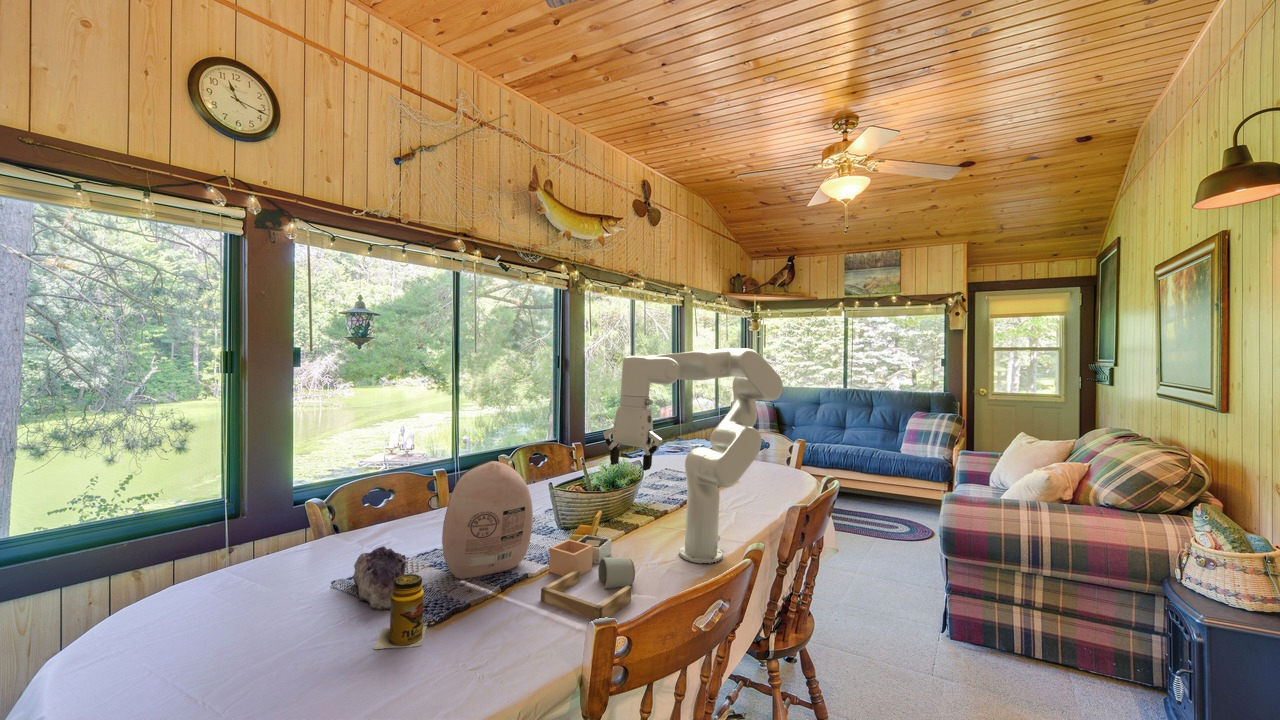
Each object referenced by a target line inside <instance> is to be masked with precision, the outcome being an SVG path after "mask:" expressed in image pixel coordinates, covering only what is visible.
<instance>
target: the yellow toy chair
mask: <svg viewBox="0 0 1280 720" xmlns="http://www.w3.org/2000/svg"><path fill="white" fill-rule="evenodd" d="M602 513H603V510H598V512H597V513H596V515H595V516H594V518H593V521H592V524H591V525H587V524H586V525H583V524H580V525H578V526H577V529H576V531H575V534H571V535H570V537H569V539H570V540H574V541H578V540H580V539H581V538H582V537H584V536H585V535H590V536H595V537H596V535H597V533H598V531H599V529H600V527H599V523H600V521H601V516H602Z"/></svg>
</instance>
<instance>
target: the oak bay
mask: <svg viewBox="0 0 1280 720" xmlns="http://www.w3.org/2000/svg"><path fill="white" fill-rule="evenodd" d="M580 577H581V576H580V571H579V570H575V571H573V572H571V573H569V574H567V575H565V576H561V577H560V578H558V579H556V580H554V581H553V582H551V583H549V584H547V585H545V586H543V587H542V588H541V589H540V601H542V602H544V603H546V604H549V605H552V606H554V607H558V608H561V609H563V610H567V611H569V612H572V613H575V614H577V615H580V616H583V617H586V618H588V619H592V620H595V619H599V618H605V617H609V618H610V617H612V616H613V615H614V614H615V613H617V612H618V611H620V610H622V608H624V607H626V605H628V604H629V603H631V602H632V587H633V586H632V585H630V586H628V585H627V586H625V587H622V588H621V589H620V590H618V591H616V592H615V593H613V595H611V596H609V597H608V598H606V599H605V600H603V601H602V602H601V603H599V604H596V603H593V602H590V601H587V600H584V599H581V598H578V597H576V596H573V595H570V594H567V593H564V591H567V590H568V589H570V588H571V587H573V586H574V585H576V584H578V583H580V580H581V579H580Z"/></svg>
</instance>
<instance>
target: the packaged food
mask: <svg viewBox="0 0 1280 720" xmlns="http://www.w3.org/2000/svg"><path fill="white" fill-rule="evenodd" d="M533 511H534V509H533V501H532V496H531V492H530V490H529V487H528V484H527V482H526V481H525V480H524V478H523V476H522V475H520V473H519V472H518V471H516V470H515V469H514V468H513V467H512V466H510V465H508V464H506V463H505V462H501V461H498V460H488V461H487V460H486V461H483V462H481V463H478V464H477V465H474V466H472V467H470V468H469V469H467V470H466V471H464V472H463V474H461V475H460V477H459V478H458V479H457V481H456V483H455V485H454V488H453V490H452V492H451V494H450V497H449V500H448V504H447V508H446V512H445V515H444V520H443V526H442V534H441V545H442V553H443V554H442V555H443V559H444V562H445V564H446V566H447V568H448V570H449V571H450V573H451V574H452V575H453V576H454V577H456V578H458V579H460V580H462V579H463V580H464V579H465V580H466V579H471V578H476V577H484V576H489V575H493V574H498V573H502V572H505V571H506V572H507V571H509V570H512V569H514V568H516V567H517V566H518V565H519V564H520V563H522V561H523V560H524V559H525V556H527V552H528V551H529V547H530V543H531V537H532V532H533V531H532V530H533V515H534V514H533V513H534V512H533Z"/></svg>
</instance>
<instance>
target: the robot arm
mask: <svg viewBox="0 0 1280 720" xmlns="http://www.w3.org/2000/svg"><path fill="white" fill-rule="evenodd" d="M731 377H734V378H733V381H732V393H733V401H732V402H733V403H732V406H731V408H730V410H729V411H728V412H727V414H726V415H725V416H724V417H723V418H722V420H721V421H720V422H719V424H717V426H716V427H715V428H714V429H713V430H712V432H711V435H710V437H709V442H710V443H709V444H710V445H711V447H712V448H709V447H704V446H703V447H701V446H699V447H695V448H692V449H691V450H690V451H689V452H688V453H687V455H686V458H685V460H684V472H685V478H686V490H687V491H686V511H685V535H684V545H683V546H681V547H680V548H679V552H678V553H679V557H681V558H682V559H684V560H685V561H688V562H690V563H695V564H702V563H709V564H714V563H713V562H715V563H718V562H720V561H721V560H723V554H724V553H723V552H722V551H721V549H719V548H718V545H719V544H718V543H719V541H720V540H721V537H720V535H719V525H720V524H719V522H720V521H719V520H720V502H721V501H720V499H721V496H720V489H719V488H724V489H727V488H731V487H733V486H734V485H736V484H737V483H738V481H740V479H741V478H742V477H743V475H744V474H745V473H746V472H747V470H748V469H749V468H750V466H751V465H752V464H753V463H754V461H755V459H757V457H758V455H759V454H760V451H761V447H762V437H761V434H760V432H759V430H757V429H756V428H755V427H754V426H755V425H756V422H757V420H758V409H757V403H756V400H758V401H759V400H760V401H765V402H772V401H776V400H777V399H779V398H780V396H781V395H782V394H783V390H784V389H783V388H784V384H783V380H782V378H781V377H780V375H779V374H778V373H777V370H775V369H774V368H773V367H772V366H771V365H770V364H769V363H768V362H767V360H766V359H765V358H764V357H763V356H762V355H761V354H760V353H758V352H757V351H755V350H754V349H751V348H741V347H740V348H738V347H735V348H734V347H730V348H729V347H727V348H725V347H724V348H716V349H707V350H694V351H687V352H680V353H679V352H677V353H676V352H675V353H667V354H666V353H664V354H663V353H662V354H653V355H646V356H645V355H643V356H642V355H641V356H640V355H626V356H625V357H623V360H622V369H621V383H620V385H621V386H620V401H619V405H618V406H617V410H616V412H615V416H614V423H613V427H611V428H609V429H606V430H604V431H603V433H602V434H603V437H604V439H605V443H606V444H607V446H608V449H609V450H610V456H609V460H610V465H611V466H613V465H614V466H615V465H618V464H619V462H620V461H619V460H620V448H619V447H620V445H623V446H630V447H637V448H641V449H642V451H643V453H644V454H643V459H642V471H645V472H646V471H649V470H650V469H651V468H652V463H653V461H652V460H653V455H654V454H655V452H657V451H658V450H659V448H660V447H661V444H662V443H663V438H661V437H660V436H659V435H657V434H656V433H654V422H653V414H652V413H653V412H652V408H649V407H650V406H652V405H653V404H654V401H653V399H650V384H655V385H661V386H667V385H672V384H674V383H676V382H677V380H684V381H707V380H712V379H722V378H731ZM611 434H612V435H611ZM611 436H612V437H611ZM653 441H654V443H653ZM652 444H653V445H652ZM720 559H721V560H720ZM719 560H720V561H719ZM717 561H718V562H717ZM711 562H712V563H711Z"/></svg>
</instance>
